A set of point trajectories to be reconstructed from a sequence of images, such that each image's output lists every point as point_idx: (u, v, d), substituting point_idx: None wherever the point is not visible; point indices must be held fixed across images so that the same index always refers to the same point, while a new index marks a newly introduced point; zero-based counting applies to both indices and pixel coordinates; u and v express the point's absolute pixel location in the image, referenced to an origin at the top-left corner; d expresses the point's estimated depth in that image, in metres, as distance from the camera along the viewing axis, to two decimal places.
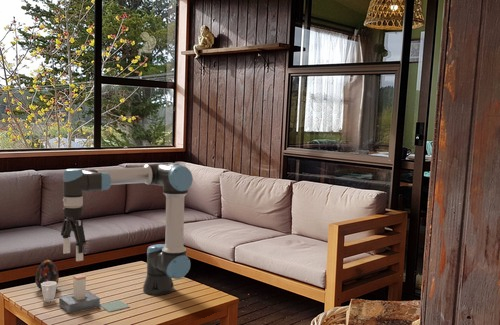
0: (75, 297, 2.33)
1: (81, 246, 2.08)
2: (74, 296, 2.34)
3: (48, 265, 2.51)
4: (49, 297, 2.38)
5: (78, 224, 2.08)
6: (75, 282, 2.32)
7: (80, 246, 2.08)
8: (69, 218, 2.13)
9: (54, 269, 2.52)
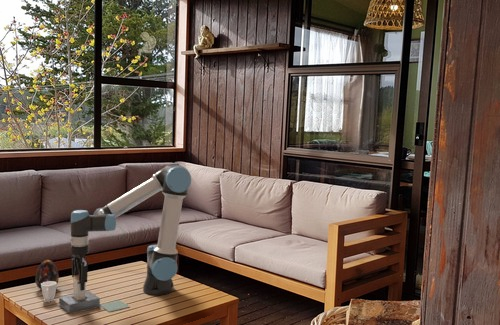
0: (75, 297, 2.33)
1: (83, 284, 2.31)
2: (74, 296, 2.34)
3: (48, 265, 2.51)
4: (49, 297, 2.38)
5: (84, 265, 2.28)
6: (75, 282, 2.32)
7: (82, 284, 2.30)
8: None
9: (54, 269, 2.52)
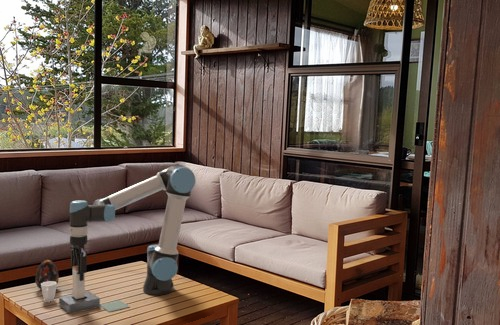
0: (74, 288, 2.32)
1: (82, 274, 2.30)
2: (73, 287, 2.33)
3: (48, 265, 2.51)
4: (49, 297, 2.38)
5: (83, 255, 2.27)
6: (74, 272, 2.31)
7: (81, 274, 2.30)
8: None
9: (54, 269, 2.52)
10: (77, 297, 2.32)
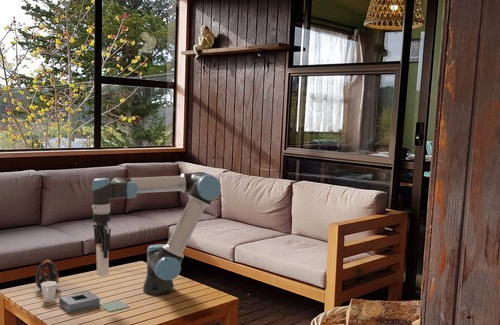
0: (98, 265, 2.32)
1: (106, 252, 2.30)
2: (97, 264, 2.33)
3: (48, 265, 2.51)
4: (49, 297, 2.38)
5: (106, 233, 2.27)
6: (98, 250, 2.32)
7: (105, 252, 2.30)
8: None
9: (54, 269, 2.52)
10: (101, 274, 2.32)
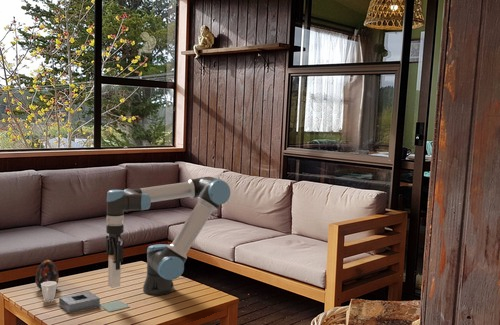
0: (110, 276, 2.33)
1: (118, 263, 2.31)
2: (109, 276, 2.34)
3: (48, 265, 2.51)
4: (49, 297, 2.38)
5: (120, 244, 2.28)
6: (110, 261, 2.32)
7: (117, 263, 2.31)
8: None
9: (54, 269, 2.52)
10: (113, 286, 2.32)
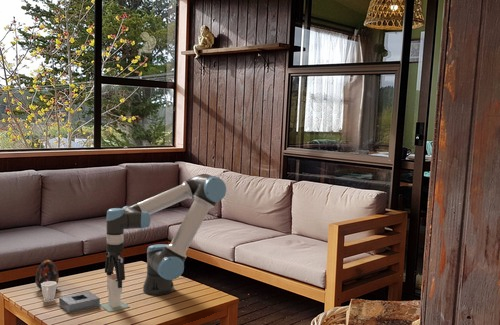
0: (110, 296, 2.34)
1: (120, 281, 2.30)
2: (109, 295, 2.34)
3: (48, 265, 2.51)
4: (49, 297, 2.38)
5: (120, 262, 2.28)
6: (110, 282, 2.33)
7: (120, 281, 2.30)
8: None
9: (54, 269, 2.52)
10: (113, 306, 2.33)
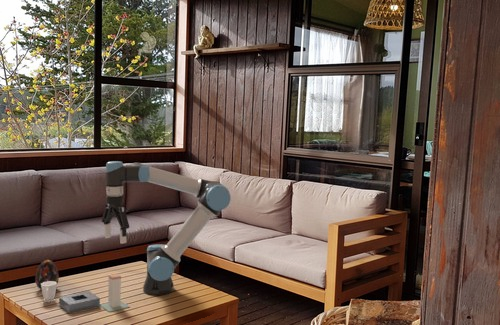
0: (110, 296, 2.34)
1: (125, 230, 2.32)
2: (109, 295, 2.34)
3: (48, 265, 2.51)
4: (49, 297, 2.38)
5: (121, 210, 2.32)
6: (110, 282, 2.33)
7: (124, 230, 2.32)
8: (111, 206, 2.37)
9: (54, 269, 2.52)
10: (113, 306, 2.33)
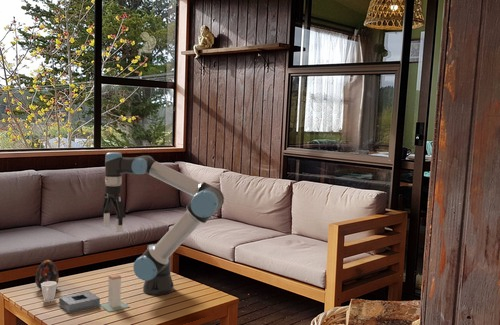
0: (110, 296, 2.34)
1: (121, 219, 2.40)
2: (109, 295, 2.34)
3: (48, 265, 2.51)
4: (49, 297, 2.38)
5: (118, 200, 2.39)
6: (110, 282, 2.33)
7: (120, 219, 2.39)
8: (110, 195, 2.45)
9: (54, 269, 2.52)
10: (113, 306, 2.33)
